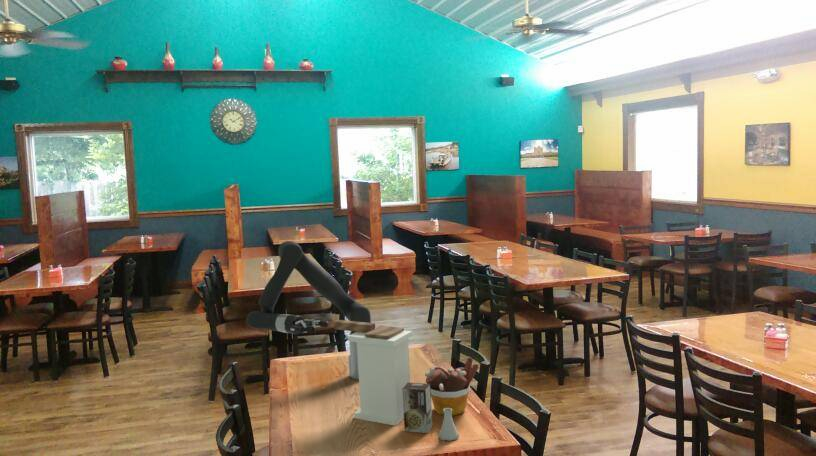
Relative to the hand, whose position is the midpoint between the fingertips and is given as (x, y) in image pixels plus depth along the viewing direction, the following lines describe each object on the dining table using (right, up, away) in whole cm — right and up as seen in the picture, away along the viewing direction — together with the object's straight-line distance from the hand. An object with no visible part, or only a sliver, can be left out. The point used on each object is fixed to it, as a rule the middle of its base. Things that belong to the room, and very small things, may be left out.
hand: (321, 327), depth 260 cm
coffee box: (+38, -33, -23) cm, 56 cm away
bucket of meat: (+51, -31, -8) cm, 60 cm away
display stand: (+25, -32, -9) cm, 42 cm away
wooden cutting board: (+18, 0, -10) cm, 21 cm away
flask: (+49, -34, -31) cm, 67 cm away
